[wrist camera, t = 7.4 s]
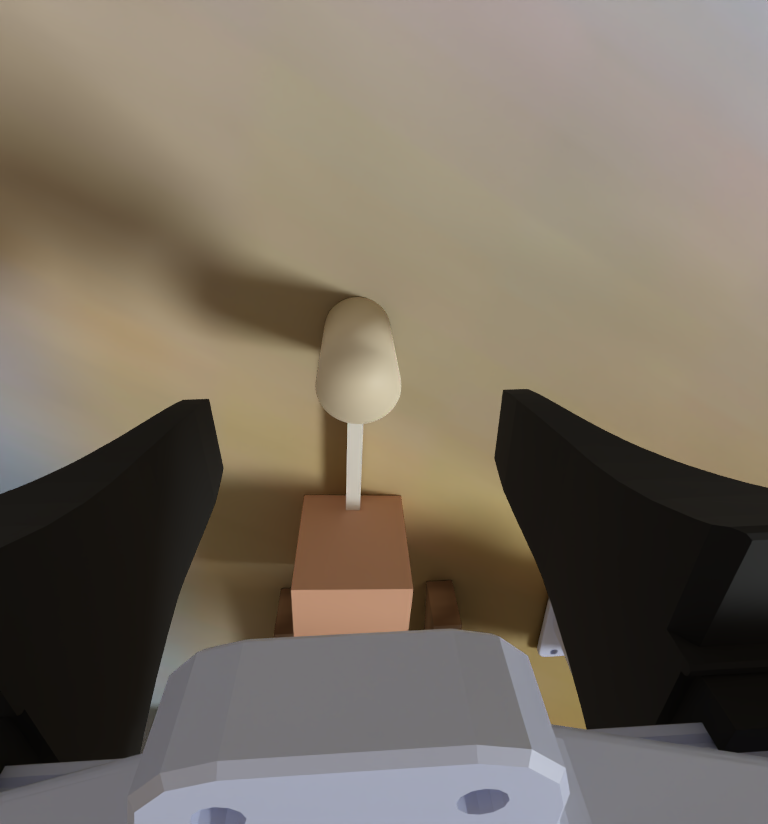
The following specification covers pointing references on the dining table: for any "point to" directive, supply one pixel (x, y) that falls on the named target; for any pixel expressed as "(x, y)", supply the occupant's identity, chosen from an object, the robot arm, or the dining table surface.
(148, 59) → the dining table surface
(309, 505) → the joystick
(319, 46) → the dining table surface
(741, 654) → the robot arm
